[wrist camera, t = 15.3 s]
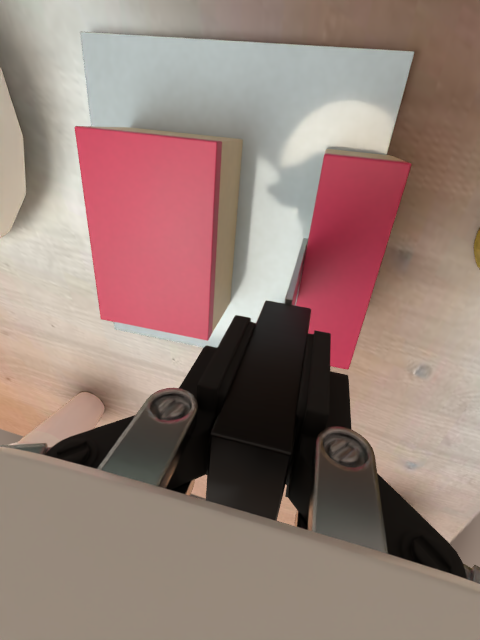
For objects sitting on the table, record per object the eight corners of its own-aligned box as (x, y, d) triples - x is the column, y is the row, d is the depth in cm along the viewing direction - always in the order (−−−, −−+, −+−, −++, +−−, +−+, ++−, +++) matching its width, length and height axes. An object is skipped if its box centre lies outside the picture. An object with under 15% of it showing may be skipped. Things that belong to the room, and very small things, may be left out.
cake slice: (392, 155, 21) (412, 163, 16) (345, 324, 27) (348, 370, 22) (325, 148, 21) (324, 153, 16) (294, 315, 27) (285, 357, 22)
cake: (243, 139, 22) (217, 141, 17) (230, 303, 28) (207, 341, 23) (129, 127, 23) (73, 126, 18) (140, 286, 29) (100, 319, 24)
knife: (320, 240, 21) (294, 448, 7) (311, 286, 22) (273, 531, 8) (291, 236, 21) (209, 426, 7) (283, 281, 22) (204, 510, 9)
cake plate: (411, 54, 19) (414, 51, 18) (327, 366, 30) (327, 373, 29) (89, 35, 22) (79, 31, 21) (119, 324, 33) (114, 329, 32)
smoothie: (89, 429, 42) (-5, 547, 30) (55, 391, 40) (-61, 500, 28) (125, 417, 40) (37, 540, 28) (90, 375, 38) (-21, 489, 26)
